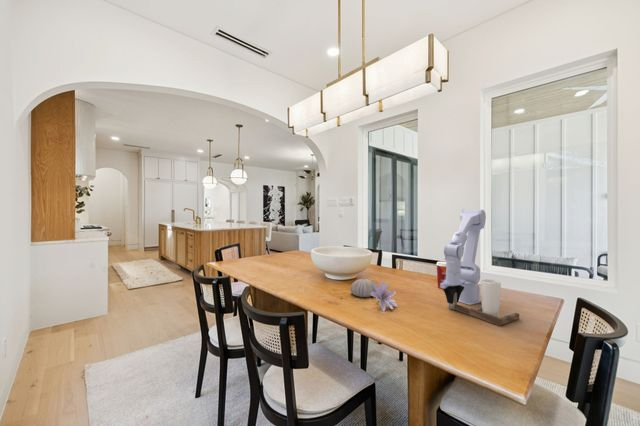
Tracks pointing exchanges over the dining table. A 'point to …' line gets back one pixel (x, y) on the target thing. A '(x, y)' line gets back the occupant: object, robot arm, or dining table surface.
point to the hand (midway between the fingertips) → (452, 302)
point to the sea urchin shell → (362, 288)
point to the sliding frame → (482, 315)
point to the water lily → (384, 296)
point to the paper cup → (441, 272)
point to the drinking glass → (490, 296)
